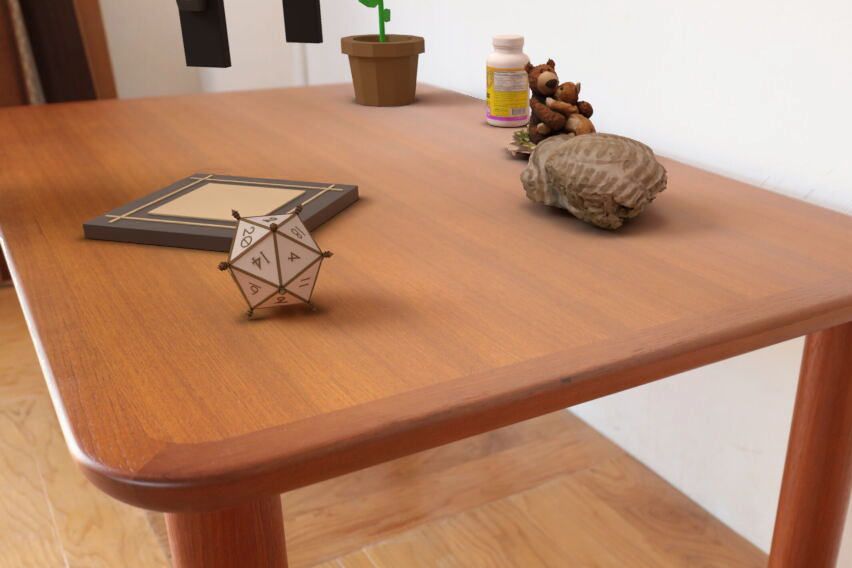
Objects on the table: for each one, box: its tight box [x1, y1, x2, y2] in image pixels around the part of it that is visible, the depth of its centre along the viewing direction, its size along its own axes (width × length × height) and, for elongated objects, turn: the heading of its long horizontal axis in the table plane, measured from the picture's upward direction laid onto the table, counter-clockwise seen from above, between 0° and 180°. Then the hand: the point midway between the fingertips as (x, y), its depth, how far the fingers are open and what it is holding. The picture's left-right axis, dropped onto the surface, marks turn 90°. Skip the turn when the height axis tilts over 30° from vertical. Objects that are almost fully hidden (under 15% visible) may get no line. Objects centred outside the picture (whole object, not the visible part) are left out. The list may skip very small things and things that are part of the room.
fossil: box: [519, 132, 669, 231], centre depth 94 cm, size 18×13×10 cm
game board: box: [82, 172, 360, 253], centre depth 93 cm, size 20×20×2 cm
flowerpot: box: [340, 0, 426, 107], centre depth 148 cm, size 14×14×30 cm
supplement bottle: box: [485, 34, 531, 128], centre depth 135 cm, size 7×7×13 cm
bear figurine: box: [505, 57, 597, 157], centre depth 116 cm, size 14×15×12 cm
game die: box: [216, 203, 334, 320], centre depth 69 cm, size 9×8×10 cm
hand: (261, 54), depth 62 cm, fingers open, 13 cm apart
